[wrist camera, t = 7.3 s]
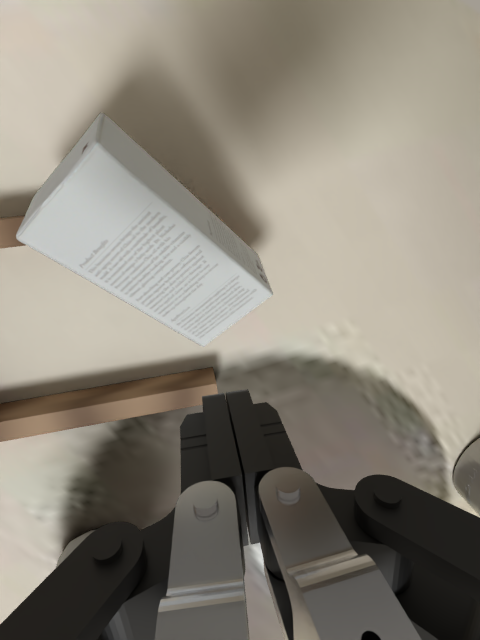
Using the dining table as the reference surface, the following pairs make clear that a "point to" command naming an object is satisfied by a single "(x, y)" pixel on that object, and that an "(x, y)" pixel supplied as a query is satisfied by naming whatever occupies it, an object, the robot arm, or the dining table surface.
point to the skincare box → (143, 237)
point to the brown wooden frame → (98, 391)
